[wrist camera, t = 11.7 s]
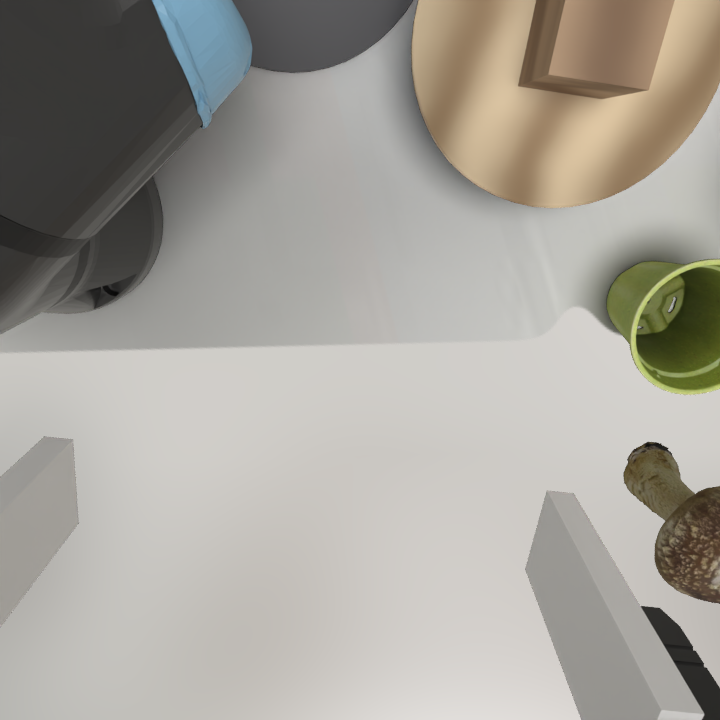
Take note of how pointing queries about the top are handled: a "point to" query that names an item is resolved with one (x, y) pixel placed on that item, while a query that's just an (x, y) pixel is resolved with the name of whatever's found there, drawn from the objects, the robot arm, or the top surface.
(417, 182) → the top surface
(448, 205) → the top surface
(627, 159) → the lid
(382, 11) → the mat
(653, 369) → the plant pot
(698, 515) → the mushroom
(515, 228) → the top surface
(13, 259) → the robot arm
